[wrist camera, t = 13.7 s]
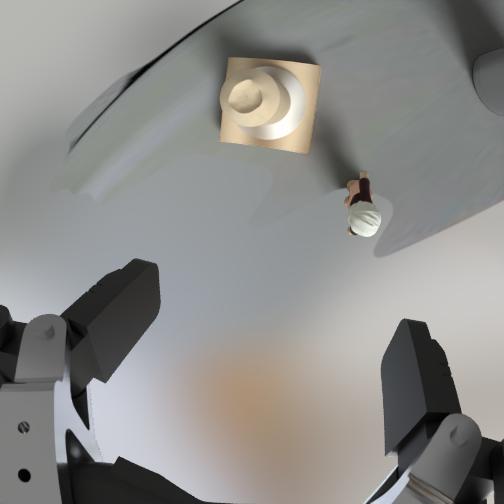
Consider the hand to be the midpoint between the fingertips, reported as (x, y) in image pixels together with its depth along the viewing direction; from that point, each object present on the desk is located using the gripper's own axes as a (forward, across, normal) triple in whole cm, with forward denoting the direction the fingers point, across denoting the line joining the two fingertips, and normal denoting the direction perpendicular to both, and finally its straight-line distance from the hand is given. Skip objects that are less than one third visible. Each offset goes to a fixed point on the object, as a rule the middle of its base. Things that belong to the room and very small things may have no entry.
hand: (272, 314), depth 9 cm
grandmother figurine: (+32, -6, +3) cm, 33 cm away
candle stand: (+32, +6, -6) cm, 33 cm away
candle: (+28, +6, -7) cm, 30 cm away
